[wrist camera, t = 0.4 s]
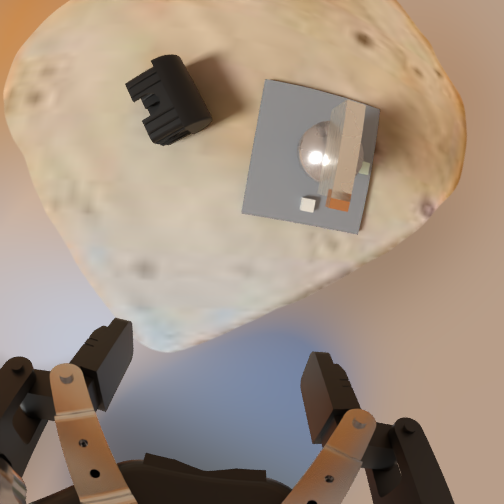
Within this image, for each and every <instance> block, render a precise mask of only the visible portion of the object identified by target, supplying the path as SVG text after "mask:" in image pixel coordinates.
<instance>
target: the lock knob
mask: <svg viewBox="0 0 504 504" xmlns="http://www.w3.org/2000/svg"><path fill="white" fill-rule="evenodd" d="M365 109H366V105H363V104H360V103H357V102H354V101H351V100H348V99H347V100H346V101H344V102H343V103H341V104H340V105H338V106H337V107H335V108H334V109H332V111H331V118H330V121H323V122H320V123H317V124H315V125H314V126H312V127H311V128H309V129H308V130H307V131H305V132H304V134H303V135H302V136H301V138H300V140H299V142H298V146H297V159H298V163H299V165H300V167H301V169H302V170H303V172H304V173H305V174H306V175H307V176H308V177H309V178H310V179H312V180H314V181H316V182H318V183H319V187H318V194H321V195H324V196H327V200H326V205H325V206H326V207H328V208H331V209H336V210H340V211H345V212H348V209H349V205H350V200H351V195H352V190H353V185H354V179H355V176H356V175H357V174H358V173H359V171H360V169H361V167H362V164H363V158H364V152H363V147H362V143H361V138H362V131H363V124H364V117H365Z"/></svg>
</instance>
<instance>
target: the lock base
mask: <svg viewBox="0 0 504 504" xmlns="http://www.w3.org/2000/svg"><path fill="white" fill-rule="evenodd" d="M346 100H347V98H344V97H341V96H337V95H334V94H330V93H326V92H323V91H319V90H315V89H311V88H307V87H302V86H298V85H294V84H289V83H284V82H279V81H274V80H268V79H265V84H264V89H263V95H262V100H261V105H260V111H259V116H258V122H257V127H256V133H255V138H254V144H253V150H252V155H251V161H250V167H249V172H248V178H247V184H246V190H245V196H244V202H243V208H242V214H248V215H254V216H260V217H266V218H272V219H278V220H283V221H289V222H295V223H300V224H306V225H311V226H316V227H322V228H327V229H332V230H337V231H342V232H347V233H352V234H357V235H358V232H359V228H360V223H361V219H362V214H363V210H364V205H365V200H366V195H367V190H368V185H369V180H370V175H371V169H372V163H373V157H374V151H375V144H376V138H377V130H378V123H379V115H380V109H377V108H374V107H372V106H369V105H366V104H363V103H360V102H357V101H354V100H351V101H354V102H357V103H360V104H363V105H366V109H365V117H364V124H363V131H362V138H361V143H362V147H363V152H364V158H363V164H362V167H361V169H360V171H359V173H358V174H357V175H356V176H355V179H354V185H353V190H352V195H351V200H350V205H349V209H348V212H345V211H340V210H336V209H331V208H328V207H326V206H325V205H326V200H327V196H324V195H321V194H318V187H319V183H318V182H316V181H314V180H312V179H310V178H309V177H308V176H307V175H306V174H305V173H304V172H303V170H302V169H301V167H300V165H299V163H298V159H297V146H298V142H299V140H300V138H301V136H302V135H303V134H304V132H305V131H307V130H308V129H309V128H311V127H312V126H314V125H315V124H317V123H320V122H323V121H330V118H331V111H332V109H334V108H335V107H337V106H338V105H340V104H341V103H343V102H344V101H346ZM348 100H350V99H348Z"/></svg>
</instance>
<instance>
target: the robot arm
mask: <svg viewBox="0 0 504 504" xmlns="http://www.w3.org/2000/svg"><path fill="white" fill-rule="evenodd" d="M132 356H133V331H132V322H131V321H127V320H123V319H119V318H114V320H113V321H112V322H111V324H110V325H109V326H108V327H106V326H102V327H100V328H98V329H96V330H95V331H94V332H93V333H92V334H91V335H90V337H89V339H87V341H86V342H85V344H83V346H82V347H81V348H80V350H79V351H78V352H77V353H76V355H75V356H74V358H73V359H72V360H71V361H70V363H64V364H60V365H57V366H55V367H54V368H53V369H52V370H51V371H44V370H37V369H33V366H32V363H31V361H30V360H28V359H27V358H25V357H13V358H11V359H9V360H8V361H7V362H6V363H5V364H4V365H3V367H2V368H1V369H0V504H26V491H27V489H26V485H25V483H24V481H23V479H22V476H23V474H24V471H25V469H26V467H27V464H28V462H29V460H30V458H31V455H32V453H33V451H34V449H35V447H36V444H37V442H38V440H39V438H40V436H41V434H42V432H43V430H44V428H45V426H46V424H47V422H48V420H51V421H55V423H56V427H57V431H58V436H59V439H60V443H61V447H62V450H63V454H64V457H65V460H66V463H67V466H68V469H69V472H70V475H71V478H72V481H73V484H74V485H73V486H70V487H68V488H66V489H63V490H61V491H59V492H56V493H54V494H52V495H49V496H47V497H45V498H42V499H39V500H37V501H34V502H31V503H29V504H341V502H342V501H343V499H344V497H345V496H346V494H347V492H348V490H349V489H350V487H351V485H352V483H353V481H354V479H355V478H356V476H357V474H358V472H359V470H360V468H365V471H366V475H367V479H368V483H369V487H370V491H371V495H372V500H373V504H454V501H453V499H452V496H451V493H450V491H449V488H448V486H447V483H446V481H445V479H444V476H443V474H442V472H441V469H440V467H439V464H438V462H437V460H436V458H435V455H434V453H433V451H432V449H431V447H430V445H429V442H428V440H427V438H426V436H425V434H424V432H423V430H422V427H421V426H420V424H419V423H418V422H416V421H415V420H413V419H411V418H400V419H398V420H397V421H396V422H395V423H394V425H389V424H383V423H378V422H376V421H375V418H374V417H373V416H372V415H371V414H370V413H369V412H367V411H365V410H362V409H361V408H360V405H359V403H358V401H357V398H356V396H355V393H354V391H353V388H352V387H351V384H350V381H348V377H347V375H346V372H345V371H344V370H343V369H342V367H341V366H340V365H339V364H333V361H332V359H331V356H330V354H329V353H325V352H312V353H311V354H310V356H309V359H308V362H307V364H306V367H305V370H304V372H303V375H302V378H301V393H302V397H303V402H304V406H305V411H306V416H307V420H308V425H309V429H310V434H311V439H312V443H313V444H322V447H323V449H322V450H321V451H320V453H319V454H318V456H317V457H316V459H315V460H314V461H313V463H312V464H311V466H310V467H309V468H308V470H307V471H306V472H305V474H304V475H303V476H302V478H301V479H300V480H299V481H298V483H297V484H296V485H295V486H294V488H293V489H291V488H290V487H288V486H286V485H284V484H283V483H281V482H278V481H276V480H273V479H270V478H266V470H249V469H228V470H217V471H203V470H200V469H197V468H195V467H192V466H189V465H187V464H184V463H182V462H179V461H177V460H175V459H169V458H165V457H161V456H156V455H152V454H149V453H146V454H145V458H144V460H129V461H123V462H120V463H117V464H116V462H115V460H114V457H113V456H112V453H111V451H110V448H109V446H108V444H107V441H106V439H105V437H104V434H103V431H102V429H101V426H100V424H99V421H98V418H97V416H96V411H97V409H99V410H102V411H105V412H106V410H107V409H108V406H109V404H110V402H111V400H112V398H113V396H114V394H115V392H116V390H117V388H118V386H119V384H120V382H121V380H122V378H123V376H124V374H125V372H126V370H127V368H128V366H129V364H130V362H131V360H132ZM397 463H398V464H397ZM398 466H399V467H398ZM399 468H400V470H399ZM400 471H401V473H400ZM401 475H402V476H401Z"/></svg>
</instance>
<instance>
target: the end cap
mask: <svg viewBox="0 0 504 504" xmlns="http://www.w3.org/2000/svg"><path fill="white" fill-rule="evenodd" d="M151 62H152V64H153V66H154V67H152V68H150V69H149V70H147V71H145V72H143V73H142V74H140V75H139V76H137V77H135V78H134V79H132V80H131V81H129V82H127V83H126V84H125V85H126V87H127V89H128V92H129V94H130V96H131V98H132V100H133V102H135V101H137V100H139V99H140V98H141V100H142V102H143V105H144V107H145V109H148V111H149V113H150V115H151V116H149V117H147V118H146V119H144V120H142V122H143V124H144V126H145V128H146V130H147V133H148V135H149V137H150V139H151V140H152V142H153V143H155V144H160V145H162V146H165V145H171V144H172V143H174V142H176V141H178V140H179V139H181V138H183V137H185V136H187V135H189V134H191V133H193V134H195V133H197V132H199V131H200V130H202V129H204V128H205V127H206V126H208V125H209V124H210V123H211V121H212V117H211V115H210V113H209V111H208V109H207V107H206V105H205V103H204V101H203V99H202V98H201V96H200V94H199V92H198V90H197V88H196V86H195V84H194V82H193V80H192V79H191V77H190V75H189V73H188V71H187V69H186V67H185V65H184V64H183V62H182V60H181V58H180V57H179V56H177V55H164V56H160V57H158V58H155V59H153V60H151Z"/></svg>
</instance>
